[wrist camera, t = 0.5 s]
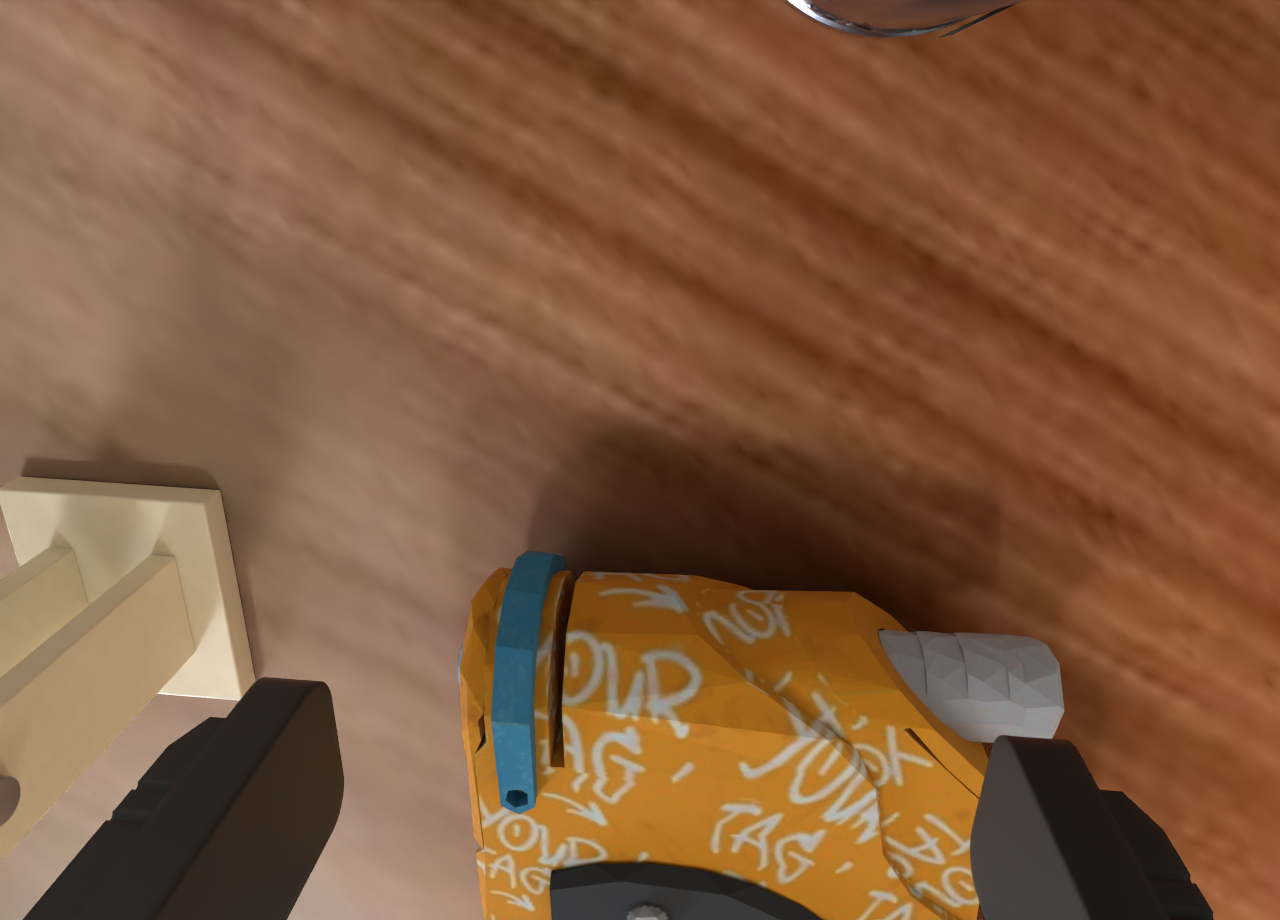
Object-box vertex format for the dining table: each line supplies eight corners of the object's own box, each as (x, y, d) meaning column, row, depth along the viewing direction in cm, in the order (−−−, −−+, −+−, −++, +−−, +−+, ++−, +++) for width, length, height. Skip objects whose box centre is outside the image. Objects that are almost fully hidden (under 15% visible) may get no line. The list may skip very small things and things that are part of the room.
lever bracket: (18, 475, 32) (-380, 694, 20) (221, 489, 32) (-69, 722, 20) (74, 667, 36) (-237, 947, 24) (257, 682, 35) (29, 975, 24)
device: (1266, 677, 22) (1050, 1287, 34) (1123, 526, 29) (989, 1068, 41) (410, 641, 23) (494, 1233, 35) (484, 508, 31) (533, 1032, 43)
